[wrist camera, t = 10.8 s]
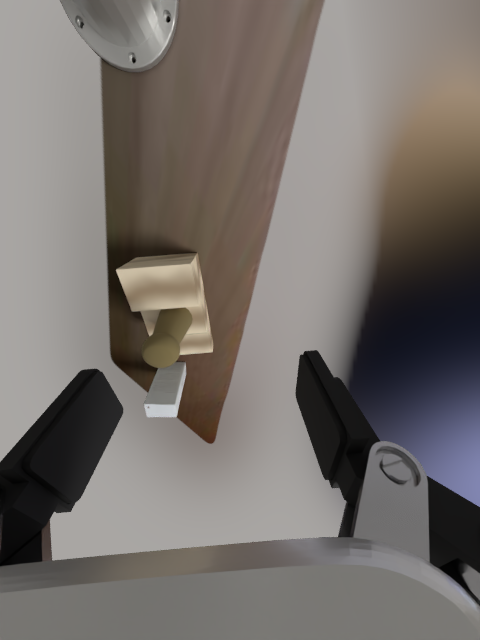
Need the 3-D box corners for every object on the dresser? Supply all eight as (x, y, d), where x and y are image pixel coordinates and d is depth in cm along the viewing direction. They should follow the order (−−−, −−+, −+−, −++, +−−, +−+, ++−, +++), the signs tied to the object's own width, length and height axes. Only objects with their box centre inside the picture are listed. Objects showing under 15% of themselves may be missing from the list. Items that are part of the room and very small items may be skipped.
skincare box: (162, 373, 50) (145, 417, 40) (160, 360, 48) (142, 404, 38) (187, 374, 51) (176, 418, 40) (186, 361, 49) (175, 404, 38)
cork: (167, 334, 38) (147, 378, 29) (153, 307, 35) (125, 346, 26) (197, 327, 38) (186, 369, 28) (185, 300, 35) (169, 336, 25)
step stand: (136, 257, 36) (115, 269, 29) (197, 252, 36) (190, 263, 29) (166, 349, 46) (156, 372, 40) (213, 345, 46) (210, 368, 40)
